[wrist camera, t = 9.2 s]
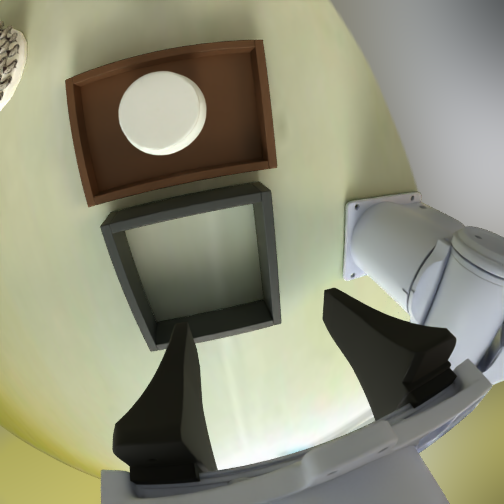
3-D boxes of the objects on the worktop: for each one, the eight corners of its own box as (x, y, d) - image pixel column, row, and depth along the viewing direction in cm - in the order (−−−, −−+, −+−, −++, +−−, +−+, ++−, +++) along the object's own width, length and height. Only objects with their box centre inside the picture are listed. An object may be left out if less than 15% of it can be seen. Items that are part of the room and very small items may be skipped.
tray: (255, 46, 16) (263, 39, 14) (269, 163, 20) (277, 167, 18) (74, 83, 13) (64, 79, 12) (95, 200, 18) (87, 207, 16)
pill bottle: (126, 106, 15) (90, 95, 8) (184, 75, 15) (185, 43, 8) (154, 159, 17) (135, 181, 11) (211, 129, 17) (229, 131, 11)
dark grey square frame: (259, 181, 20) (271, 190, 18) (271, 303, 25) (281, 323, 23) (110, 212, 18) (99, 226, 16) (152, 328, 24) (150, 351, 21)
